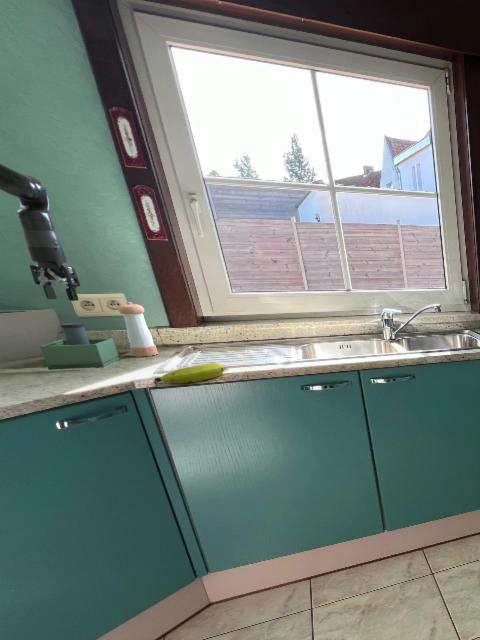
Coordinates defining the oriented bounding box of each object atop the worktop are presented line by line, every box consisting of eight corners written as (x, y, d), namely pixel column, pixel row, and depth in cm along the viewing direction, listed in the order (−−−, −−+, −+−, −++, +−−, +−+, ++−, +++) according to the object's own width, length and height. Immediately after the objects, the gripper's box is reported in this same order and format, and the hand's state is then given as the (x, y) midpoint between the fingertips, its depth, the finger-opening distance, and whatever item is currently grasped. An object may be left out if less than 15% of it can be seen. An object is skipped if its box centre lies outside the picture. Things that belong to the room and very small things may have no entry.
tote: (48, 369, 158) (39, 346, 155) (68, 361, 169) (60, 339, 166) (103, 367, 163) (96, 344, 161) (119, 359, 175) (112, 338, 172)
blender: (69, 365, 162) (55, 325, 158) (78, 361, 167) (64, 322, 163) (93, 364, 165) (79, 324, 160) (100, 360, 170) (87, 322, 165)
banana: (230, 359, 162) (183, 365, 161) (196, 366, 145) (143, 374, 144) (235, 372, 163) (188, 379, 162) (202, 381, 147) (149, 389, 146)
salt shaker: (139, 353, 185) (123, 300, 178) (162, 353, 187) (147, 301, 180) (127, 357, 179) (110, 302, 172) (151, 356, 180) (135, 303, 173)
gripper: (10, 244, 150) (30, 299, 156) (48, 246, 148) (67, 301, 154) (40, 245, 157) (58, 298, 163) (77, 247, 155) (94, 300, 161)
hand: (63, 299), depth 159 cm, fingers open, 8 cm apart
